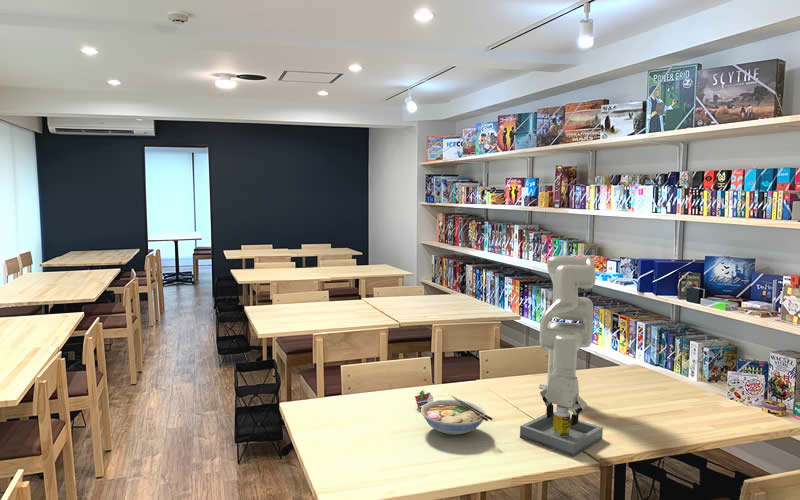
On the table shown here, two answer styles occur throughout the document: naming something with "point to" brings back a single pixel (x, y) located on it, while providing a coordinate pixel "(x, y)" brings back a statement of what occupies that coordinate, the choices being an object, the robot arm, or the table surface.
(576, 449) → the tray
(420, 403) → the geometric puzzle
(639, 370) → the table surface
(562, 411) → the supplement bottle
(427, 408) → the ramen bowl
